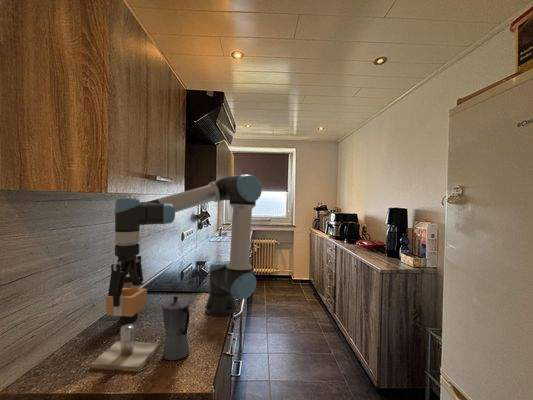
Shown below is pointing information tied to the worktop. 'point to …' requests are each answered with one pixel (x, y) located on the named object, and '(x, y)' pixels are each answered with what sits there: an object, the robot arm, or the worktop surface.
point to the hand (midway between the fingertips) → (126, 309)
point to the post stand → (126, 353)
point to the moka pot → (176, 329)
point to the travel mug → (131, 319)
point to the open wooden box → (129, 301)
